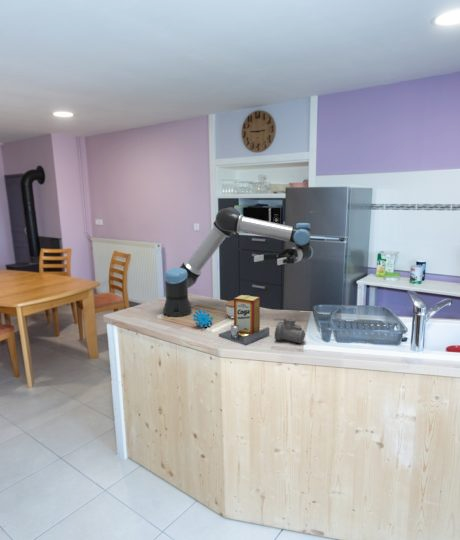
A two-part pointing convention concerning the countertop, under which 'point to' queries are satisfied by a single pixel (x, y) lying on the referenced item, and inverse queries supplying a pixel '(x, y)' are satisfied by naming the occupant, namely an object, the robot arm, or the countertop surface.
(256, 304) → the baking soda box
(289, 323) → the pipe fitting
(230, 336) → the carrier plate
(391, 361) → the countertop surface
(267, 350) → the countertop surface
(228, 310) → the lidded jar
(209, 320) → the gear
